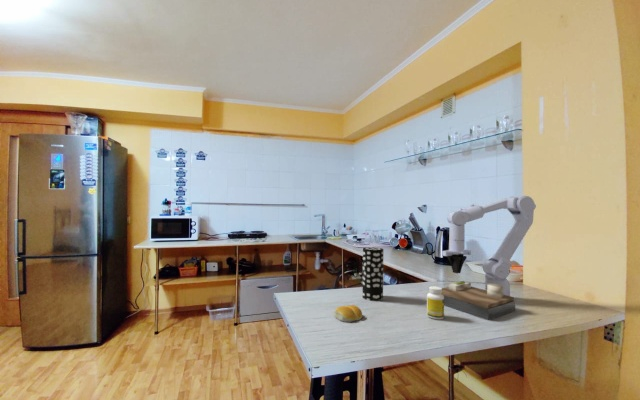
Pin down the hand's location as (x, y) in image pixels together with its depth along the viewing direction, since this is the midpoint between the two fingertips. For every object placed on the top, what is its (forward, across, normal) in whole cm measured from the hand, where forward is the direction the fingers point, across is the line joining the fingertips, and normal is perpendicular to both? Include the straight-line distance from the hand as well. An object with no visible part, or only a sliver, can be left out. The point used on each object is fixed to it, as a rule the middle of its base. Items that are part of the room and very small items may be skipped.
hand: (456, 272), depth 116 cm
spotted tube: (+11, -32, +13) cm, 37 cm away
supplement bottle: (+11, -24, -12) cm, 29 cm away
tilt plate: (+7, -2, -10) cm, 12 cm away
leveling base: (+10, -3, -10) cm, 14 cm away
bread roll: (+11, -52, -2) cm, 54 cm away
